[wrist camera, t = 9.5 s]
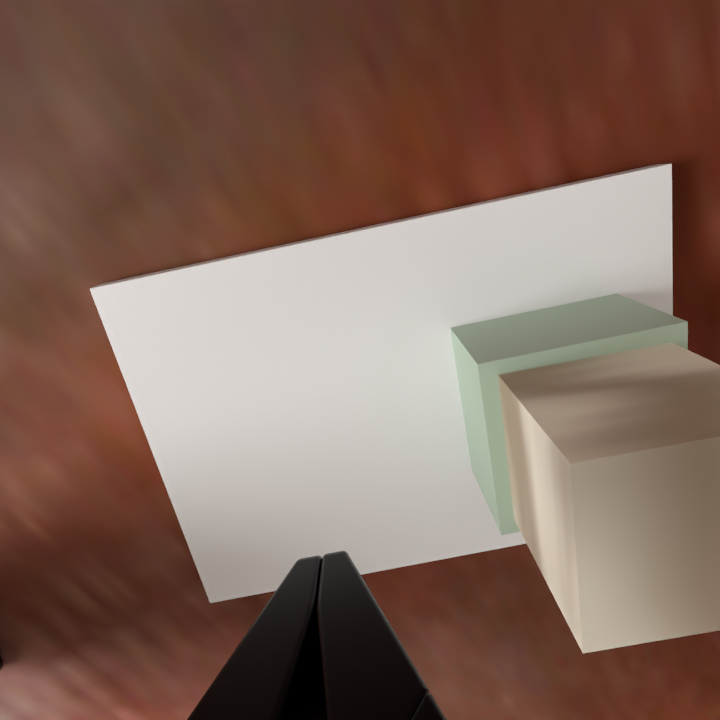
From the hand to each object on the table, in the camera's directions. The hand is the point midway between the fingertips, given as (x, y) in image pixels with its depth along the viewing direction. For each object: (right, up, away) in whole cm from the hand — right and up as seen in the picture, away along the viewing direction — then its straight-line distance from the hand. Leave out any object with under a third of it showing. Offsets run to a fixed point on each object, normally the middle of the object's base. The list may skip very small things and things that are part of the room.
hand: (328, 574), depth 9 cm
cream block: (+7, +1, +7) cm, 10 cm away
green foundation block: (+7, +3, +11) cm, 13 cm away
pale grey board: (+2, +2, +12) cm, 12 cm away
